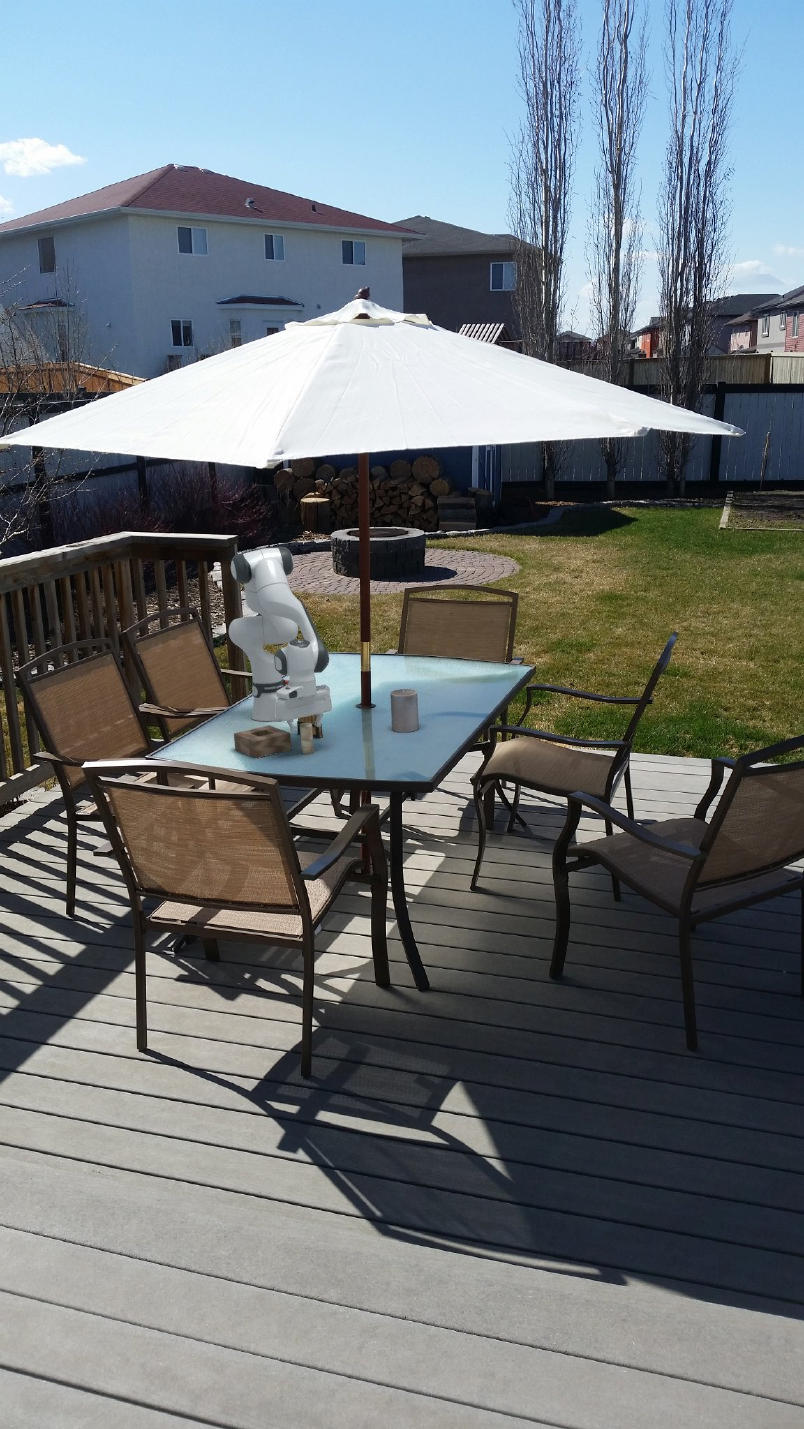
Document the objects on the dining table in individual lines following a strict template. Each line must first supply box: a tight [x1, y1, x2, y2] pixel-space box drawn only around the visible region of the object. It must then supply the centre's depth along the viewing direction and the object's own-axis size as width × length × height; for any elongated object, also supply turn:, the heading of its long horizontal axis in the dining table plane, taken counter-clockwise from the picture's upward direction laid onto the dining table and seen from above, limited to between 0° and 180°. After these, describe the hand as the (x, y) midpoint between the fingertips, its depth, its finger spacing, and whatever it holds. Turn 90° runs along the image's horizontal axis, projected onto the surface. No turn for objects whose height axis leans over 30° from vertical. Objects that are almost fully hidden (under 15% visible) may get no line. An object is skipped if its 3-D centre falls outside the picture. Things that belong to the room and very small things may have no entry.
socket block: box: [233, 724, 293, 759], centre depth 364 cm, size 14×14×6 cm
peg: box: [300, 723, 315, 756], centre depth 358 cm, size 4×4×10 cm
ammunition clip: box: [296, 715, 324, 740], centre depth 377 cm, size 11×2×12 cm, turn 52°
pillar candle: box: [390, 688, 420, 734], centre depth 380 cm, size 10×10×15 cm
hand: (305, 729), depth 356 cm, fingers open, 8 cm apart
